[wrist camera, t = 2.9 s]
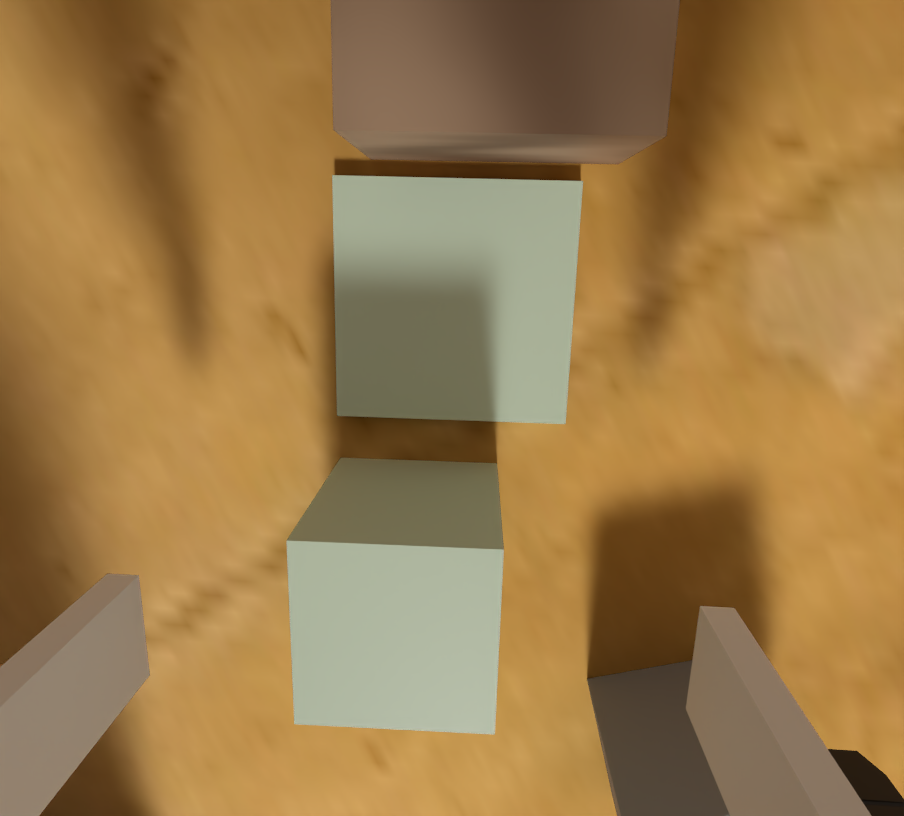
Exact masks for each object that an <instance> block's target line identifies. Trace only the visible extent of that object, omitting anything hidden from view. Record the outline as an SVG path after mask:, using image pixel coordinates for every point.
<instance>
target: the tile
mask: <svg viewBox="0 0 904 816" xmlns="http://www.w3.org/2000/svg"><path fill="white" fill-rule="evenodd" d="M332 183H333V235H334V287H335V339H336V391H337V416H355V417H383V418H411V419H439V420H467V421H495V422H523V423H551V424H566V410H567V396H568V382H569V368H570V355H571V341H572V327H573V313H574V299H575V285H576V271H577V258H578V244H579V230H580V216H581V202H582V188H583V181H562V180H519V179H476V178H433V177H390V176H347V175H332Z"/></svg>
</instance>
